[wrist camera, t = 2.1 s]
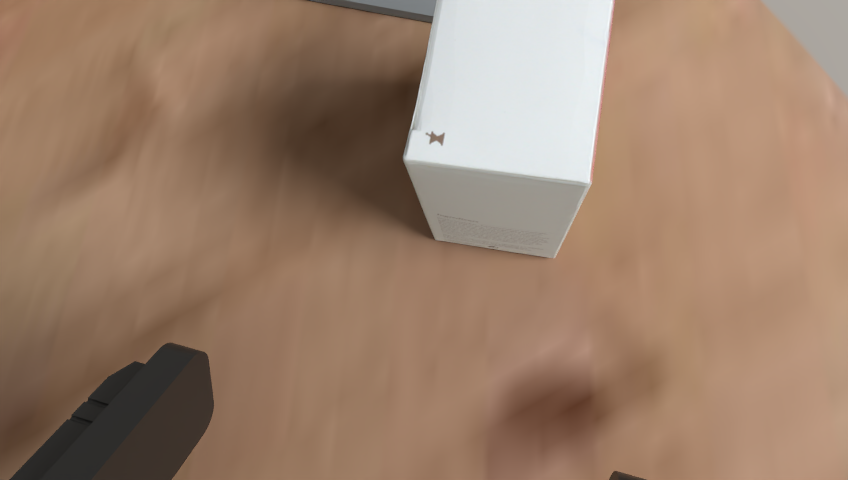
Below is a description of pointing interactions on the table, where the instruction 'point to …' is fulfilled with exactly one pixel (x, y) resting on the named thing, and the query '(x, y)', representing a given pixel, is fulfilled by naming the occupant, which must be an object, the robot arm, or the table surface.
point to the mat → (391, 7)
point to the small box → (509, 120)
